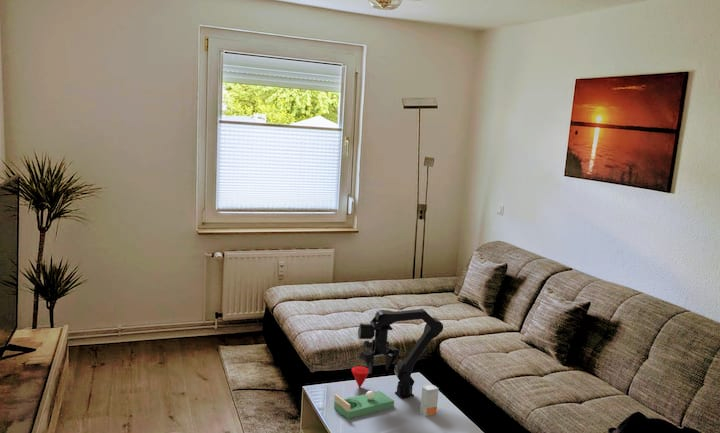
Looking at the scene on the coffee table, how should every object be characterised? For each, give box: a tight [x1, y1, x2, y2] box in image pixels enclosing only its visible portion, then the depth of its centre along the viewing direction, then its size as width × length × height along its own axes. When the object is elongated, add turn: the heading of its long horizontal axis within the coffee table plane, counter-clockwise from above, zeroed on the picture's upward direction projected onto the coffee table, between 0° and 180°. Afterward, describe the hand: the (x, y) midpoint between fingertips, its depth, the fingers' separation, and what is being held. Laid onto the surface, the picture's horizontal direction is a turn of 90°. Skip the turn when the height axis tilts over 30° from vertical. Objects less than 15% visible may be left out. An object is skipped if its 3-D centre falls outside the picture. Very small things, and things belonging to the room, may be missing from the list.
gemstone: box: [350, 365, 370, 388], centre depth 264 cm, size 9×9×10 cm
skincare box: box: [419, 384, 440, 417], centre depth 243 cm, size 6×4×12 cm
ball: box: [365, 390, 375, 400], centre depth 247 cm, size 4×4×4 cm
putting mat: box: [333, 390, 395, 420], centre depth 245 cm, size 24×11×6 cm, turn 124°
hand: (378, 371), depth 255 cm, fingers open, 9 cm apart
